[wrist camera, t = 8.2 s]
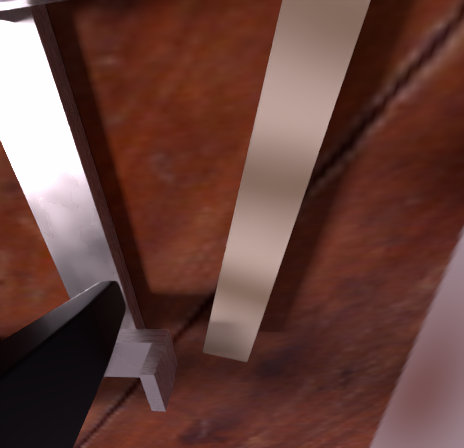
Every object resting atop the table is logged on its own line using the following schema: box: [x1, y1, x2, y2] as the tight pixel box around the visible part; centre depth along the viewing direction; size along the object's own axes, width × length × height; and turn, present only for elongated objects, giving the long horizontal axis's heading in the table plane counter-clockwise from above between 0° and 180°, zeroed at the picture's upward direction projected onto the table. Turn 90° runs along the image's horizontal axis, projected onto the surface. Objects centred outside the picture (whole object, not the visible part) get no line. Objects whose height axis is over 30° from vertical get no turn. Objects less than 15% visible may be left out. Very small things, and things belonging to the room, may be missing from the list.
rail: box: [203, 0, 371, 362], centre depth 16 cm, size 24×3×3 cm, turn 169°
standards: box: [0, 0, 178, 411], centre depth 13 cm, size 24×8×12 cm, turn 6°
